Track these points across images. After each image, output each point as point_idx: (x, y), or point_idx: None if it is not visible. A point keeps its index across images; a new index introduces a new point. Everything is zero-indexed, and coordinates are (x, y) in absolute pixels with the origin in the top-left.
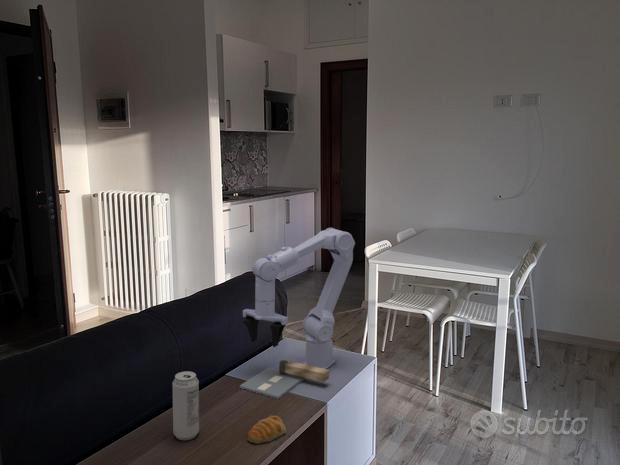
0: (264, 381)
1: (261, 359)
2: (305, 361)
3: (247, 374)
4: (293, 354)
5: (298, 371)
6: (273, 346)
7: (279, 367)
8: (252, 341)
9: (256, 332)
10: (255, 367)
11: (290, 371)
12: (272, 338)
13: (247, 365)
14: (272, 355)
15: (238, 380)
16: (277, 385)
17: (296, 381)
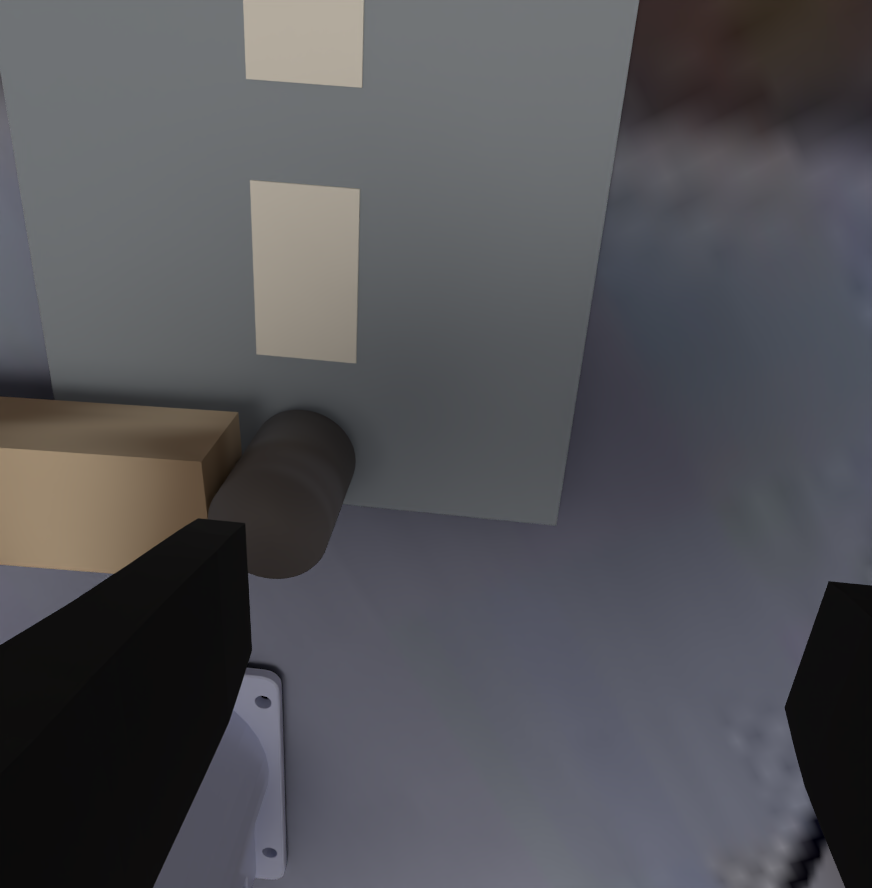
0: (396, 140)
1: (737, 692)
2: (231, 743)
3: (739, 298)
4: (481, 865)
5: (19, 423)
6: (218, 521)
7: (324, 458)
8: (846, 585)
9: (866, 879)
10: (721, 506)
11: (148, 421)
12: (128, 632)
13: (837, 515)
14: (663, 797)
15: (788, 69)
16: (182, 112)
17: (62, 329)
